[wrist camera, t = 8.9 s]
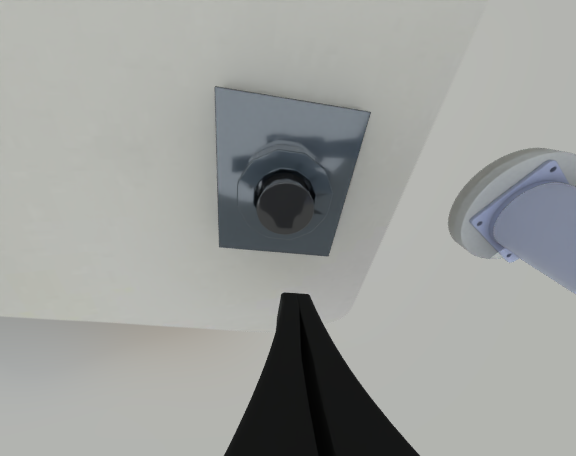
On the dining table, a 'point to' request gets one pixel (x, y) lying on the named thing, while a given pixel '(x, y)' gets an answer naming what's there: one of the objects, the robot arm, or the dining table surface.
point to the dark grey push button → (284, 204)
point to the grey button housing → (282, 165)
